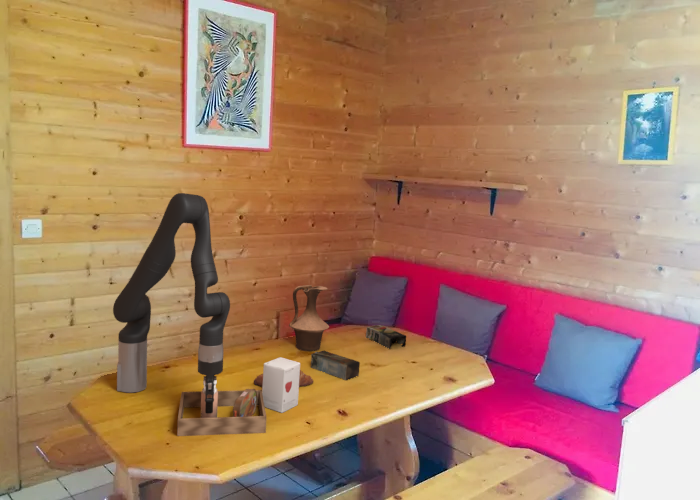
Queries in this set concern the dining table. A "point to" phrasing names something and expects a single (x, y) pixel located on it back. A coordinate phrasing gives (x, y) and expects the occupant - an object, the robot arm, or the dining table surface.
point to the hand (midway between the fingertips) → (209, 407)
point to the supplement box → (281, 384)
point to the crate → (220, 423)
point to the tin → (245, 404)
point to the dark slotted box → (385, 335)
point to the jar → (203, 405)
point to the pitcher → (308, 320)
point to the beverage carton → (335, 365)
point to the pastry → (303, 380)
